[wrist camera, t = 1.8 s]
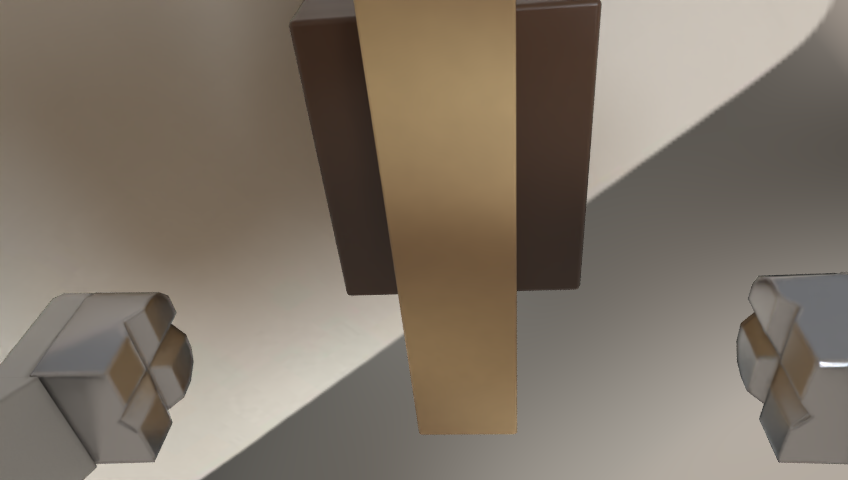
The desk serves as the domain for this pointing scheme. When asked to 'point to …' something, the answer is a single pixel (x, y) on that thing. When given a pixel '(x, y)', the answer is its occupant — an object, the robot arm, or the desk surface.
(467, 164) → the tan wooden bar
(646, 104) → the desk surface
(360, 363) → the desk surface
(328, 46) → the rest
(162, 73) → the desk surface
